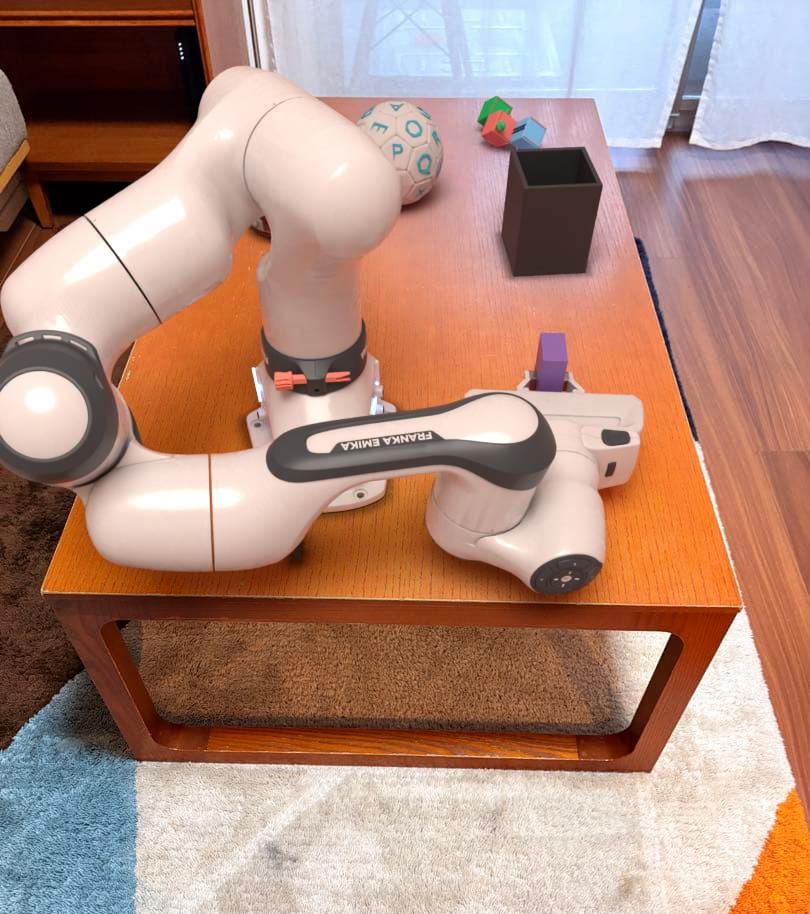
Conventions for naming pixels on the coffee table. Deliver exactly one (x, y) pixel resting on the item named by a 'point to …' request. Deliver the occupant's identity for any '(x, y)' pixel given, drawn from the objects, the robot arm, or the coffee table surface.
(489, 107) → the building blocks
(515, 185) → the trash can
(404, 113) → the puzzle ball
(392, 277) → the coffee table surface
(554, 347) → the purple rectangular block
